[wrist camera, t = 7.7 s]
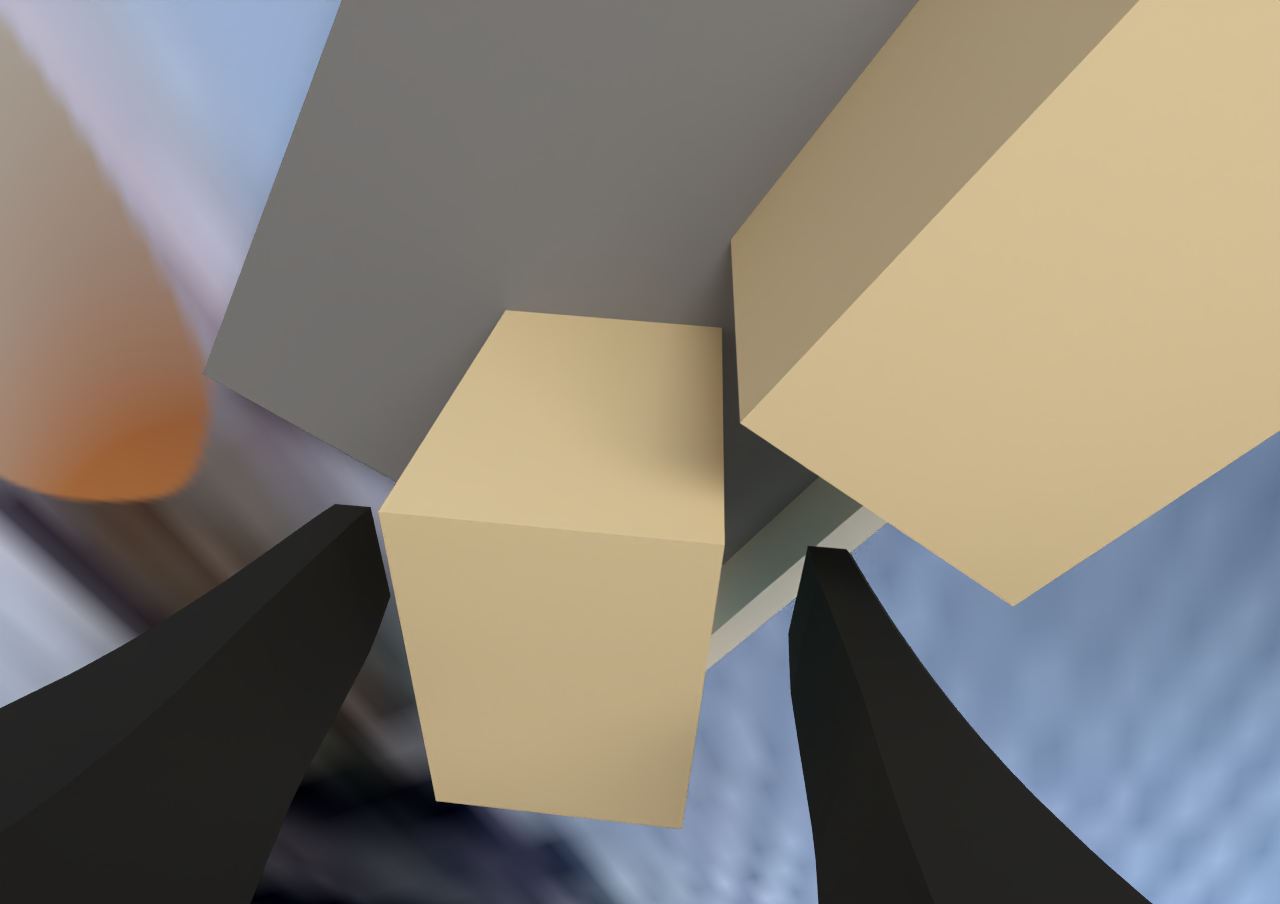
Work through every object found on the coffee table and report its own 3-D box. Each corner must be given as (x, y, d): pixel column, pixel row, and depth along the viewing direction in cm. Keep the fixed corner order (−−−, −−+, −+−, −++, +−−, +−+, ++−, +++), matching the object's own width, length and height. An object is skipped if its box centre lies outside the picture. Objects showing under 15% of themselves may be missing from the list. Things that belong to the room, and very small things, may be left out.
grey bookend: (1246, 75, 11) (1398, 103, 9) (677, 602, 19) (671, 698, 16) (613, -610, 8) (567, -866, 6) (235, 348, 16) (144, 418, 13)
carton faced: (902, 368, 13) (1014, 607, 8) (730, 239, 12) (739, 423, 7) (1218, 68, 10) (1696, 158, 5) (1026, -136, 9) (1396, -270, 4)
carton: (693, 570, 16) (683, 829, 11) (520, 553, 17) (435, 801, 12) (723, 328, 13) (726, 545, 8) (505, 309, 13) (378, 511, 8)
